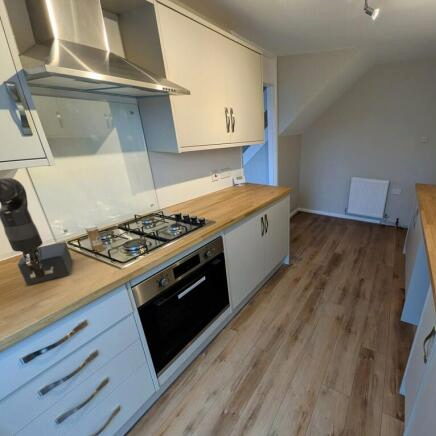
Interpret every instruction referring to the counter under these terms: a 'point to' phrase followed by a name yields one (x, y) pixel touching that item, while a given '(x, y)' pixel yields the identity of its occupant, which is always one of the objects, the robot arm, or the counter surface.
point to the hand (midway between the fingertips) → (41, 276)
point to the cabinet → (53, 256)
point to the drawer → (45, 271)
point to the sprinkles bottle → (94, 238)
